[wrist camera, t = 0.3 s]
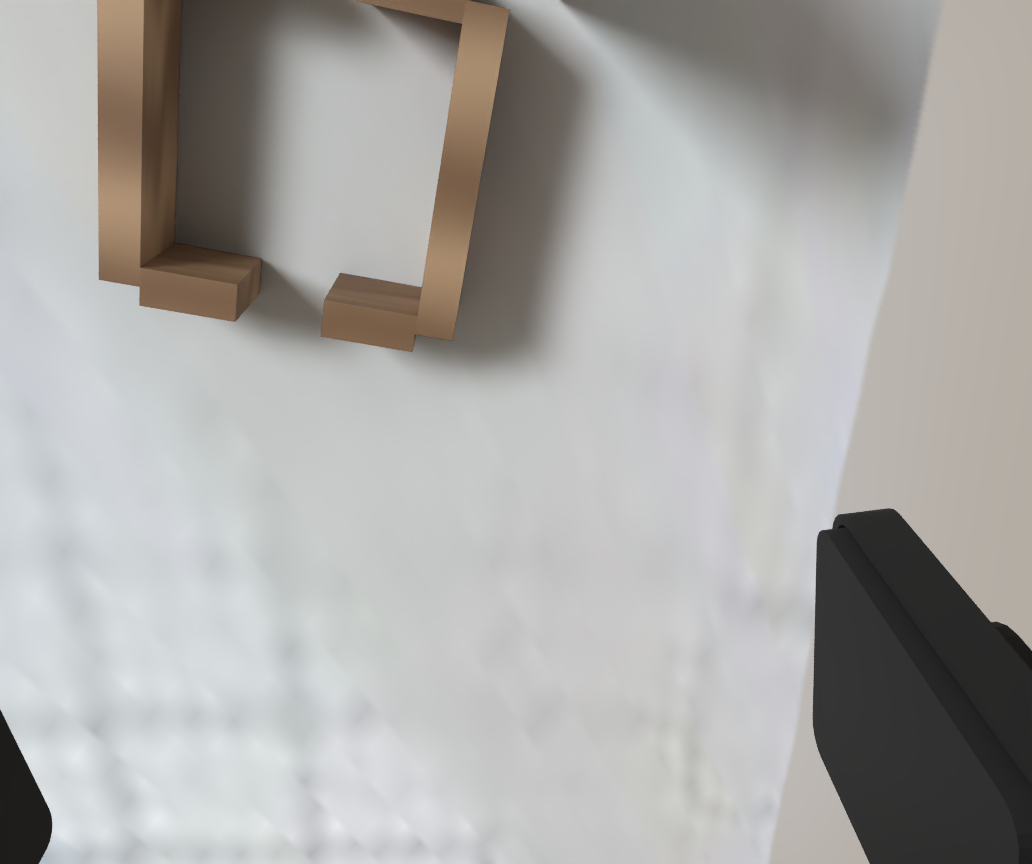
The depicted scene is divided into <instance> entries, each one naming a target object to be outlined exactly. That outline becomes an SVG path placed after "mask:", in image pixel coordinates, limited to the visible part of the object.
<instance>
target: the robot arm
mask: <svg viewBox="0 0 1032 864" xmlns="http://www.w3.org/2000/svg"><path fill="white" fill-rule="evenodd" d="M813 728H814V735H815V739H816V743H817V747H818V750H819V753H820V755H821V758H822V760H823V762H824V764H825V767H826V769H827V771H828V773H829V775H830V777H831V780H832V782H833V784H834V786H835V789H836V791H837V793H838V795H839V797H840V800H841V802H842V804H843V806H844V808H845V810H846V813H847V815H848V817H849V819H850V821H851V823H852V826H853V828H854V830H855V832H856V834H857V837H858V839H859V841H860V843H861V845H862V848H863V849H864V852H865V854H866V856H867V858H868V861H869V863H870V864H1032V651H1031V650H1030V648H1029V647H1028V646H1027V645H1026V644H1025V643H1024V641H1023V640H1022V639H1021V638H1020V637H1019V636H1018V635H1017V634H1016V633H1015V632H1014V631H1013V630H1011V629H1010V628H1009V627H1008V626H1007V625H1004V624H1001V623H999V622H990V621H989V620H988V618H987V617H986V616H985V615H984V614H983V613H982V611H981V610H980V609H979V608H978V607H977V605H976V604H975V603H974V602H973V601H972V599H971V598H970V597H969V596H968V595H967V593H966V592H965V591H964V590H963V589H962V588H961V586H960V585H959V584H958V583H957V582H956V580H955V579H954V578H953V577H952V576H951V575H950V573H949V572H948V571H947V570H946V569H945V567H944V566H943V565H942V564H941V563H940V562H939V560H938V559H937V558H936V557H935V556H934V554H933V553H932V552H931V551H930V550H929V548H928V547H927V546H926V545H925V544H924V543H923V541H922V540H921V539H920V538H919V537H918V535H917V534H916V533H915V532H914V531H913V530H912V528H911V527H910V526H909V525H908V524H907V522H906V521H905V520H904V519H903V518H902V516H900V514H899V513H898V512H897V511H895V510H894V509H880V510H872V511H864V512H856V513H848V514H840V515H838V516H837V517H836V518H835V520H834V523H833V529H829V530H822V531H820V532H819V534H818V537H817V559H816V602H815V645H814V688H813ZM51 833H52V817H51V813H50V810H49V808H48V806H47V804H46V802H45V800H44V798H43V796H42V794H41V792H40V790H39V787H38V785H37V783H36V781H35V779H34V777H33V775H32V773H31V771H30V769H29V767H28V765H27V763H26V761H25V759H24V757H23V755H22V753H21V751H20V749H19V747H18V745H17V743H16V741H15V739H14V737H13V735H12V733H11V731H10V729H9V727H8V724H7V722H6V720H5V718H4V716H3V714H2V712H1V710H0V864H39V862H40V860H41V858H42V857H43V855H44V853H45V851H46V849H47V847H48V844H49V842H50V838H51Z"/></svg>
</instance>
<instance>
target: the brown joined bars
mask: <svg viewBox="0 0 1032 864" xmlns="http://www.w3.org/2000/svg"><path fill="white" fill-rule="evenodd" d="M356 1H357V2H362V3H367V4H371V5H376V6H381V7H385V8H390V9H395V10H399V11H404V12H409V13H414V14H418V15H423V16H428V17H432V18H437V19H442V20H446V21H451V22H456V23H460V24H462V28H461V35H460V41H459V48H458V54H457V61H456V68H455V74H454V81H453V87H452V94H451V100H450V107H449V113H448V120H447V126H446V133H445V139H444V146H443V153H442V159H441V166H440V172H439V179H438V185H437V192H436V198H435V205H434V211H433V218H432V225H431V231H430V238H429V244H428V251H427V257H426V264H425V270H424V277H423V283H422V287H416V286H411V285H405V284H399V283H394V282H388V281H383V280H377V279H371V278H366V277H360V276H355V275H349V274H344V273H340V274H339V276H338V278H337V279H336V281H335V283H334V284H333V286H332V288H331V290H330V291H329V293H328V295H327V296H326V298H325V300H324V309H323V319H322V328H321V337H327V338H333V339H338V340H344V341H350V342H356V343H362V344H368V345H374V346H379V347H385V348H391V349H397V350H403V351H409V352H412V350H413V345H414V341H415V337H416V335H421V336H427V337H433V338H439V339H445V340H450V341H453V335H454V329H455V324H456V318H457V312H458V306H459V300H460V295H461V289H462V283H463V277H464V271H465V266H466V260H467V254H468V248H469V242H470V237H471V231H472V225H473V219H474V213H475V208H476V202H477V196H478V190H479V184H480V179H481V173H482V167H483V161H484V155H485V150H486V144H487V138H488V132H489V126H490V121H491V115H492V109H493V103H494V97H495V92H496V86H497V80H498V74H499V68H500V62H501V57H502V51H503V45H504V39H505V33H506V28H507V22H508V16H509V10H510V9H507V8H502V7H497V6H493V5H488V4H483V3H479V2H474V1H470V0H356ZM181 11H182V0H97V20H98V198H99V280H104V281H110V282H115V283H121V284H127V285H133V286H139V287H140V306H145V307H151V308H157V309H163V310H169V311H175V312H180V313H186V314H192V315H198V316H204V317H210V318H216V319H221V320H227V321H233V322H235V321H236V320H237V319H238V318H239V316H240V315H241V314H242V313H243V312H244V310H245V309H246V308H247V307H248V306H249V305H250V303H251V302H252V301H253V300H254V299H255V297H256V296H257V295H258V294H259V289H260V276H261V262H262V259H260V258H254V257H249V256H243V255H238V254H232V253H226V252H221V251H215V250H210V249H204V248H198V247H193V246H187V245H182V244H176V243H174V239H175V207H176V174H177V142H178V109H179V76H180V44H181Z"/></svg>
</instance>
